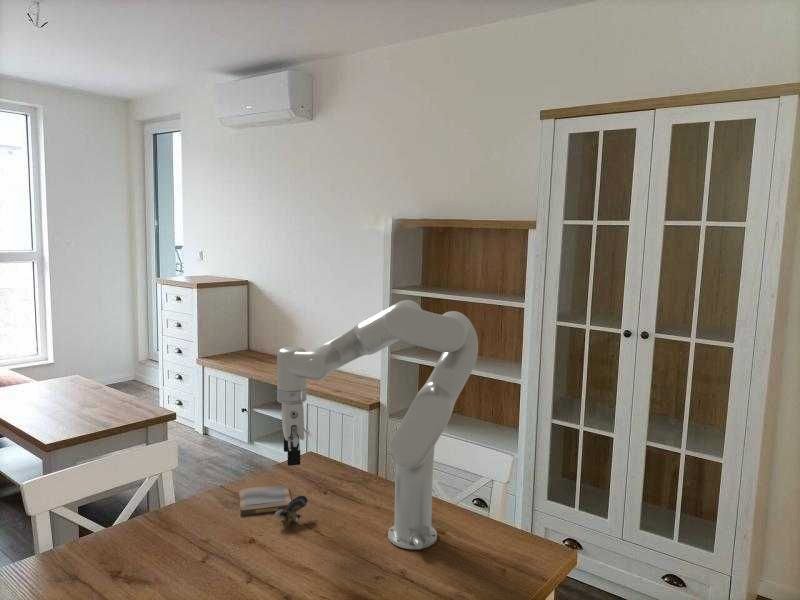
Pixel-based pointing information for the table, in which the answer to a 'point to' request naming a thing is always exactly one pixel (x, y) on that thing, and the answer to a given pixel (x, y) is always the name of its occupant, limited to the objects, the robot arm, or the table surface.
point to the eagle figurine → (292, 510)
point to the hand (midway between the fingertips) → (291, 457)
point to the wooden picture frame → (264, 499)
